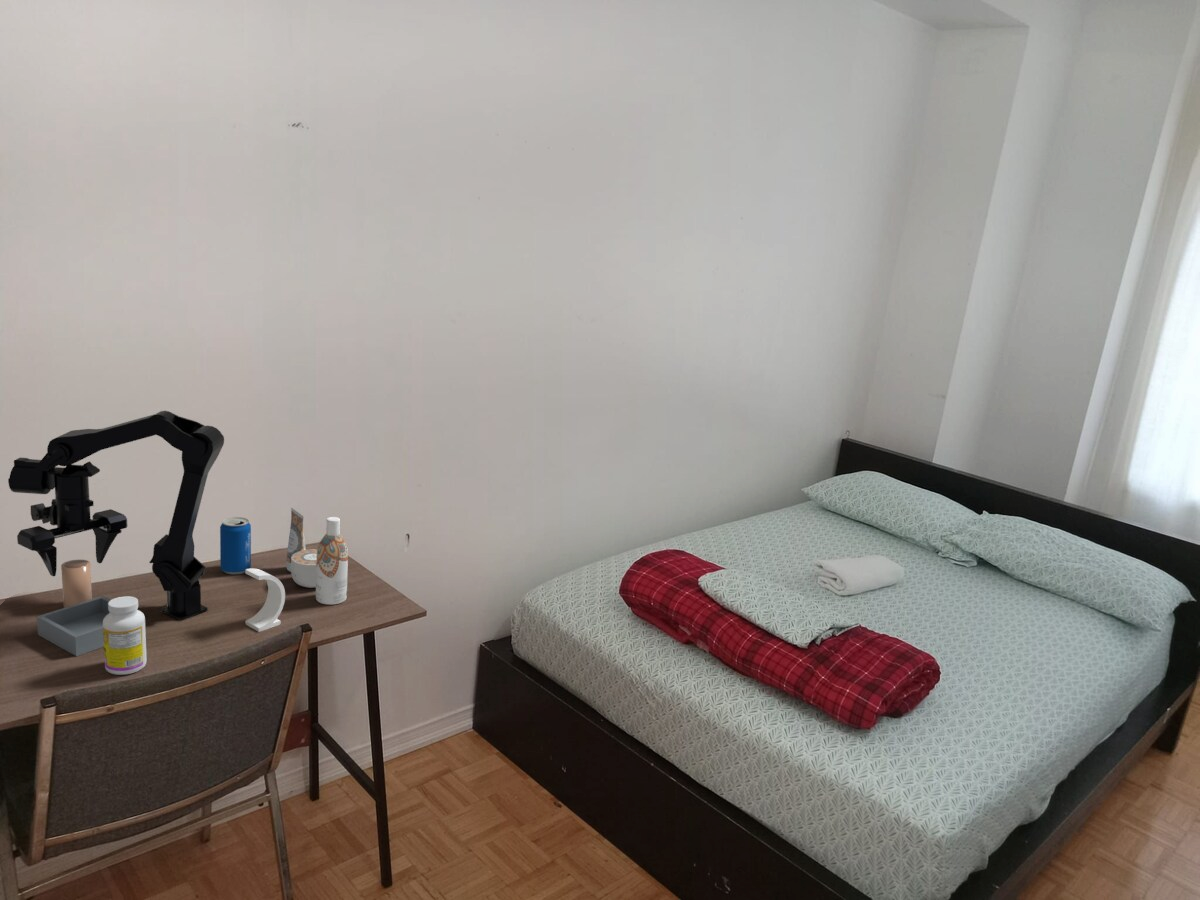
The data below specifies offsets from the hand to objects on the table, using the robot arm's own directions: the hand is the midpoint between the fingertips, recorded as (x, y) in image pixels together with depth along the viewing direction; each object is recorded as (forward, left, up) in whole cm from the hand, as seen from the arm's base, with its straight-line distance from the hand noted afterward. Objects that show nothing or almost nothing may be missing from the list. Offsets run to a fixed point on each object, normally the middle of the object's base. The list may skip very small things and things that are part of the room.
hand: (76, 569), depth 176 cm
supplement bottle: (-29, +8, -8) cm, 31 cm away
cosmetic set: (-25, -38, -8) cm, 47 cm away
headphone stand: (-33, -19, -8) cm, 39 cm away
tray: (-13, +5, -8) cm, 16 cm away
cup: (0, 0, -8) cm, 8 cm away
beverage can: (-7, -32, -8) cm, 34 cm away
